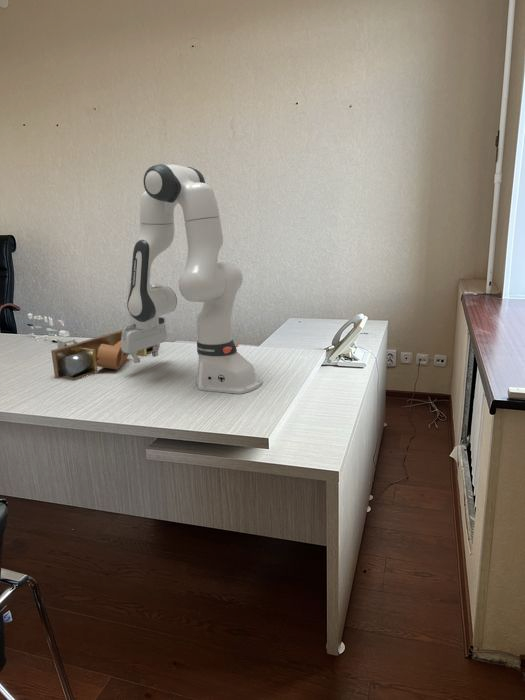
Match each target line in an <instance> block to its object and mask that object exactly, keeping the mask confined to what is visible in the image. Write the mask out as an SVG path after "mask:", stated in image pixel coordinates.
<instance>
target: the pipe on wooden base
mask: <svg viewBox="0 0 525 700" xmlns="http://www.w3.org/2000/svg"><path fill="white" fill-rule="evenodd" d="M122 331H123V329H121V330H118V331H115V332H111V333H107V334H104V335H101V336H97V337H93V338H90V339H86V340H82V341H79V342H77V343H75V344H72V345H68V346H65V347H61V348H58V347H57V348H55V349H51V350H50V351H51V359H52V366H53V373H54V378H56V379H60V378H62V379H67V380H71V381H77V380H79V378H80V379H82V377H83V378H85V377H88V376H91V375H95V374H96V375H98V374H99V373H98V366H97V360H99V358H97V353H98V349H99V347H100V345H101V344H106V345H112V346H114V345H115V344H117V343H118V342H119V341H120V340H121V337H122ZM153 349H154V346H151V347H148V348H145V349H142V350H139V351H137V353H138V354H136V355H137V356H138V355H139V356H138V357H144V356H145V357H147V356H148V355H149V354H152V353H151V352H152V351H153ZM90 374H91V375H90ZM87 375H88V376H87ZM84 376H85V377H84Z"/></svg>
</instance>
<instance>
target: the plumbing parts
mask: <svg viewBox="0 0 525 700" xmlns="http://www.w3.org/2000/svg"><path fill="white" fill-rule="evenodd" d="M26 315H27V317H28V319H29V320H38V321H40V320H44V321H43V322H44V323H48V324H49V326H50V327H53V326H54V321H53V320H54V319H53V318H52V317H50V316H46V315H45V316H44V317H42V315H34V316H33V313H31V312H29V313H28V314H26ZM57 322H58V323H60V324H61V326H62V327H64V326H65V323H64V320H60V319H57ZM27 326H29V327H31V330H33V329H34V328H35V329H43V326H39V325H34V324H31V323H27ZM50 327H48V328H46V329H45V330H46V331H49V332H51V331H52V332H58V336H59V337H62V338H66V337H69V336H71V335H70V332H69V331H68V330H63V329H61V330H59V331H58V330H56V329H53V328H50ZM28 336H30V337H32V338H34V339H35V342H38V341H43V340H45V341H48V339H49V337H48V336H49V334H45V335H41V336H38V335H36V334H35V333H34V332H31V333H28ZM50 341H51V343H54V344H57V339H54V338H50Z"/></svg>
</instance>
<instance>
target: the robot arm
mask: <svg viewBox="0 0 525 700" xmlns="http://www.w3.org/2000/svg"><path fill="white" fill-rule="evenodd" d="M143 188H144V190H145V191H144V192H143V193H141V198H140V207H139V233H138V239H137V242H136V243H135V245H134V247H133V251H132V262H131V274H130V275H131V276H130V279H129V280H128V284H127V303H126V307H127V310H128V311H127V312H129V323H130V325H129V326H127V325H126V326H124V327H123V329H122V330H123V331H122V337H121V350H122V351H123V353H128V355H131V357H132V358H133V363H134V364H139V363H141V357H139V356H138V355H136V354H138V353H137V351H139V350H142V349H145V348H148V347H151V346H154V349H153V351H152V353H151V356H152V357H153V358H155V357H158V356H159V349H160V346H161V345H160V344H163V343H165V342H166V341H167V339H168V331H167V325H166V317H164V315H168V314H170V313H172V312H174V311H175V310H176V309H177V304H178V297H177V295H176V292H175V291H174V290H173V289H172V288H171V287H170V286H164V285H162V284H160V283H158V282H156V281H155V280H153V278H152V277H151V268H152V264H153V262H154V260H155V259H156V258H157V257H158V256H159V255H160V254H161V253H163V252H165V251H166V250H167V249H168V248H170V246H172V243H173V241H174V238H175V215H174V213H175V212H174V211H175V207H176V206H177V205H178V204H179V205H180V207H181V209H182V213H183V219H184V225H185V226H184V227H185V233H186V242H187V256H186V257H187V259H186V263H185V264H186V265H185V267H184V270H183V272H182V274H181V275H180V277H179V280H178V289H179V292H180V294H181V296H182V297H183V298H184V299H185V300H187V302H190V303H191V302H193V303H203V305H202V309H201V310H200V312H199V313H198V314H197V315H198V316H197V317H196V318H197V319H196V326H197V328H196V329H197V330H196V331H197V341H196V350H197V354H198V360H197V361H198V363H197V364H198V365H197V372H196V373H197V374H196V380H195V384H196V385H197V390H199V391H207V392H215V393H216V392H218V393H227V394H236V395H237V394H240V395H241V394H245V393H249V392H252V391H255V390H256V389H257V388H259V387H260V386H262V385H263V379H262V378H260V377H257V376H256V371H255V368H254V367H255V366H254V365H253V364H252V363H251V362H249V361H248V360H247V359H246V358H245V357H244V356H243V355H241V354H240V353H239V352H238V349H237V348H238V347H240V343H239V342H238V343H235V342H234V340H233V338H232V337H233V336H232V316H233V314H232V313H233V309H234V304H235V300H236V297H237V293H238V291H239V289H240V288H241V286H242V284H243V274H242V271H241V269H240V268H239V267H238V266H237V265H236V264H234V263H229V262H225V261H224V262H218V258H219V253H220V249H221V248H222V246H223V244H224V238H223V237H224V236H223V229H222V223H221V217H220V211H219V206H218V202H217V197H216V196H215V192H214V190H213V188H212V186H211V185H209V184H208V183H206V181H205V177H204V174H202V172H201V171H199V170H198V169H196V168H194V167H191V166H183V165H179V164H173V163H172V164H171V163H170V164H163V163H162V164H161V163H159V164H154V165H152V166H150V167H149V168H148V169H147V170H146V171H145V173H144V174H143Z"/></svg>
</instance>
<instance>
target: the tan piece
mask: <svg viewBox="0 0 525 700" xmlns="http://www.w3.org/2000/svg"><path fill="white" fill-rule="evenodd" d="M128 357H129V354H128V353H123V351H122V350H121V340H120V341H119V342H118V343H117V344H115V345H114V346H112V345H106V344H101V345H100V347H99V349H98V353H97V358H99V360H97V367H100V368H103V369H104V368H106V369H111V370H114V371H118V370H119V369H120V368H121V367H122V366H123V365H124V364H125V363H126V361H127V359H128Z"/></svg>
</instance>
